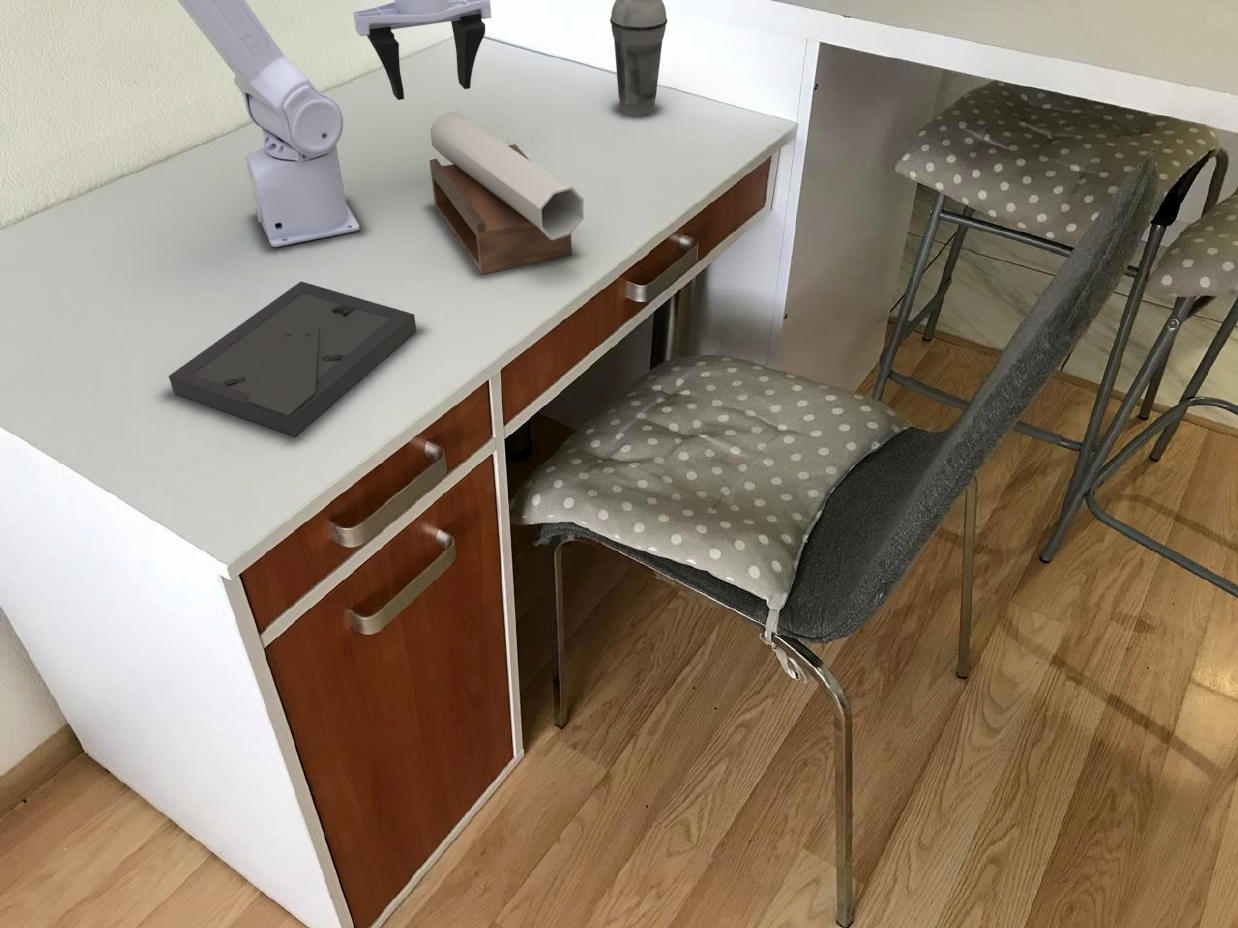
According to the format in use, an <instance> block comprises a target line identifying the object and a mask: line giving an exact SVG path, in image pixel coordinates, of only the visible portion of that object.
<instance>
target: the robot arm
mask: <svg viewBox="0 0 1238 928" xmlns="http://www.w3.org/2000/svg"><path fill="white" fill-rule="evenodd" d="M177 1H178V3H179V4H180V5H181V7H182V8H183V9H184V11H185V12H186V13H187V15H188V16H189V17H190V19H192V22H194V24H195V25H196V26H197V28H198V29H199V30H200V31H201V33H202V34H203V35H204V37H205V38H206V39H207V40H208V42H209V43H210V44H211V45H212V47H213V48H214V49H215V51H216V52H217V53H218V54H219V56H220V57H221V59H222V60H223V61H224V63H225V64H226V65H227V66H228V68H229V69H230V70H231V71H232V73H233V74H234V79H233V82H234V85H235V86H236V87H237V89H238V90H239V91H240V93H241V95H242V97H243V100H244V105H245V110H246V112H247V115H248V117H249V119H250V120H251V121H252V122H253V123H254V124H255V125H256V126H257V127H259V128H260V129H261V131H262V136H263V146H264V147H262V148H260V149H258V150H256V151H253V152H249V153H246V154H245V161H246V166H247V170H248V176H249V180H250V184H251V187H252V191H253V196H254V200H255V204H256V205H255V206H254V207H255V208H254V209H255V212H256V216H257V220H258V222H259V224H261V225H262V228H263V230H264V232H265V234H266V237H267V239H268V242H269V244H270V246H271V247H273V248H278V247H283V246H288V245H293V244H297V243H298V244H299V243H303V242H308V241H313V240H317V239H323V238H328V237H333V236H338V235H343V234H347V233H352V232H357V231H359V230H360V225H359V222H358V221H357V219H356V217H355V216H354V214H353V212H352V210H351V209H350V207H349V205H348V203H347V199H346V198H347V197H346V193H345V188H344V182H343V176H342V171H341V170H342V169H341V164H340V159H339V154H338V147H337V144H338V142H339V141H340V139H341V137H342V134H343V131H344V115H343V111H342V109H341V108H340V106H339V104H338V103H337V101H336V100H335V99H334V98H332V97H331V96H329V95H327V94H325V93H323V92H321V91H320V90H318V89H317V88H316V87H315V86H314V85H313V82H311V81H310V79H309V78H308V77H307V76H306V75H305V73H304V72H302V71H301V70H300V68H298V67H297V66H296V65H295V64H294V63H293V62H292V61H291V60H290V59H289V58H288V57H287V56H286V55H285V54H284V53H283V52H282V50H281V49H280V47H279V46H278V44H277V43H276V42H275V40H274V39H273V38H272V36H271V35H270V33H269V32H268V30H267V29H266V28H265V26H264V25H263V23H262V22H261V20H260V19H259V18H258V16H257V15H256V14H255V12H254V11H253V10H252V8H251V7H250V5H249V4H248V3H247V1H246V0H177ZM352 14H353V21H354V27H355V31H356V33H357V34H358V35H359V36H360V37H365V36H366V37H367V39H368V41H369V42H370V43H371V45H372V47H373V49H374V51H375V52H376V54H377V56H378V57H379V60H380V62H381V64H382V66H383V69H384V70H385V73H386V75H387V79H388V80H389V83H390V87H391V91H392V94H393V97H395V98H396V100H397V101H401V100H405V89H404V86H403V80H402V79H403V78H402V75H401V66H400V43H399V42H398V41H397V39H396V38H395V33H394V32H392V31H393V30H399V29H406V28H413V27H420V26H428V25H434V24H440V23H441V24H442V23H448V22H450V24H451V28H452V29H451V30H452V34H453V40H454V46H455V53H456V54H455V55H456V70H457V71H456V72H457V73H456V74H457V79H458V84H459V85H460V86H461V87H462V88H463V89H464V90H469V89H471V85H472V84H471V83H472V75H473V69H474V65H475V61H476V57H477V53H478V50H479V48H480V45H481V43H482V41H483V39H484V37H485V35H486V23H485V22H483V20H485V19H491V18H492V7H491V0H394V2H389V3H386V4H382V5H379V6H376V7H372V8H367V9H363V10H362V9H361V10H357V11H353V12H352Z"/></svg>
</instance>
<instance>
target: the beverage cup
mask: <svg viewBox="0 0 1238 928" xmlns="http://www.w3.org/2000/svg"><path fill="white" fill-rule="evenodd" d="M610 13H611V15H610V18H609V22H610V24H611V26H610V27H611V32H612V37H613V41H614V42H613V43H614V54H615V55H614V56H615V67H616V82H617V93H618V94H617V95H618V101H619V102H618V103H619V111H620V112H621V113H622V114H623V115H626V116H630V117H645V116H649V115H652V114H653V113H654V110H655V103H656V99H657V91H658V90H657V89H658V83H659V82H658V81H659V73H660V64H661V57H662V56H661V55H662V47H663V41H664V37H665V34H666V33H665V32H666V29H667V24H668V18H667V11H666V7H665V4H664V2H663V0H615V1H614V3H613V5H612V9H611V12H610Z"/></svg>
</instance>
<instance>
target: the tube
mask: <svg viewBox="0 0 1238 928" xmlns="http://www.w3.org/2000/svg"><path fill="white" fill-rule="evenodd" d="M429 130H430V131H429V132H430V140H431V146H432V147H433V148H434V149H435V150H436V151H437V152H438V153H439V154H440V155H441V156H442V157H443V158H444V159H446V160H447V161H449V162H450V163H451V164H454V165H455V166H457V167H458V168H459V169H461V170H462V171H463V172H465V173H466V174H467V175H469V176H470V177H471V178H473V179H474V180H475V181H477V182H478V183H479V184H481V185H482V186H483V187H485V188H486V189H487V190H489V191H490V192H491V193H493V194H494V195H495V196H497V197H498V198H500V199H501V200H502V201H504V202H505V203H506V204H508V205H509V206H510V207H512V208H513V209H514V210H516V211H517V212H518V213H520V214H521V215H522V216H524V217H525V218H526V219H528V220H529V221H530V222H532V223H533V224H534V225H536V226H537V227H538V228H539V229H540V230H541V231H542V232H543V233H544V234H545V235H546V236H547V237H548V238H549V239H550V240H555V239H558V238H561V237H564V236H567V235H570V234H571V235H572V233H573V232H574V231H575V229H576V228H577V227H578V226H579V225H580V224H581V222H582V221H583V220H584V216H585V215H584V198H583V196H581V195H580V194H579V192H577V190H576V189H575V188H574V187H573V186H572V185H571V184H567V185H566V184H565V183H563V182H562V181H561V180H559V179H557V178H556V177H554V176H553V175H551V174H550V173H549V172H548V171H546V170H544V169H543V168H541V167H540V166H538V165H537V164H535V163H534V162H532V161H531V160H530V159H529V158H528V159H529V160H530V161H529V160H528V159H526V158H525V157H523V156H522V155H521V154H519V153H518V152H516V151H515V150H513V149H512V148H510V147H509V145H507V144H506V143H504V142H503V141H501V140H500V139H499V138H497V137H495V136H494V135H493V134H491V133H490V132H488V131H487V130H485V129H484V128H482V127H481V126H479V125H478V124H477V123H475V122H473V121H472V120H470V119H469V118H467V117H466V116H465V115H463V113H460V112H458V111H453V112H450V113H449V112H448V113H445V114H442V115H438V116H437V117H436V118H435V120H434V121H433V123H432V125H431V127H430V128H429Z"/></svg>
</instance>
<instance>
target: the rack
mask: <svg viewBox="0 0 1238 928" xmlns="http://www.w3.org/2000/svg"><path fill="white" fill-rule="evenodd" d="M508 146H509V147H510V148H512V149H513V150H515V151H516V152H518V153H519V154H521V155H522V156H523V157H525V158H526V159H528V160H529V161H531V160H530V159H529V157H528V156H527V155H526V154H525V153H524V152H523V151H522V150H521V148H519V147H518V146H517V145H516V144H515V143H512V144H509V145H508ZM429 166H430V175H431V185H432V192H433V201H434V208H435V210H436V212H437V213H438V214H439V216H440V217H441V218H442V220H443V222H444V223H445V224H446V226H447V227H448V228H449V230H450V231H451V233H452V235H454V237H455V239H456V240H457V242H458V243H459V245H460V246H461V247H462V248H463V250H464V251H465V252H466V254H467V255H468V257H469V258H470V259H471V261H472V262H473V264H474V266H475V267H476V268H477V269H478V271H479V272H480V274H481V275H486V274H491V273H496V272H500V271H504V270H509V269H514V268H518V267H522V266H523V267H524V266H527V265H532V264H535V263H541V262H545V261H549V260H554V259H558V258H562V257H567V256H572V255H573V250H572V249H573V248H572V233H571V234H570V235H567V236H564V237H561V238H558V239H555V240H550V239H549V238H548V237H547V236H546V235H545V234H544V233H543V232H542V231H541V230H540V229H539V228H538V227H537V226H536V225H534V224H533V223H532V222H530V221H529V220H528V219H526V218H525V217H524V216H522V215H521V214H520V213H518V212H517V211H516V210H514V209H513V208H512V207H510V206H509V205H508V204H506V203H505V202H504V201H502V200H501V199H500V198H498V197H497V196H495V195H494V194H493V193H491V192H490V191H489V190H487V189H486V188H485V187H483V186H482V185H481V184H479V183H478V182H477V181H475V180H474V179H473V178H471V177H470V176H469V175H467V174H466V173H465V172H463V171H462V170H461V169H459V168H458V167H457V166H455V165H454V164H453V163H451V164H447V165H442V164H441V163H440V161H439V160H438V158H432V159H431V158H430V159H429Z"/></svg>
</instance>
